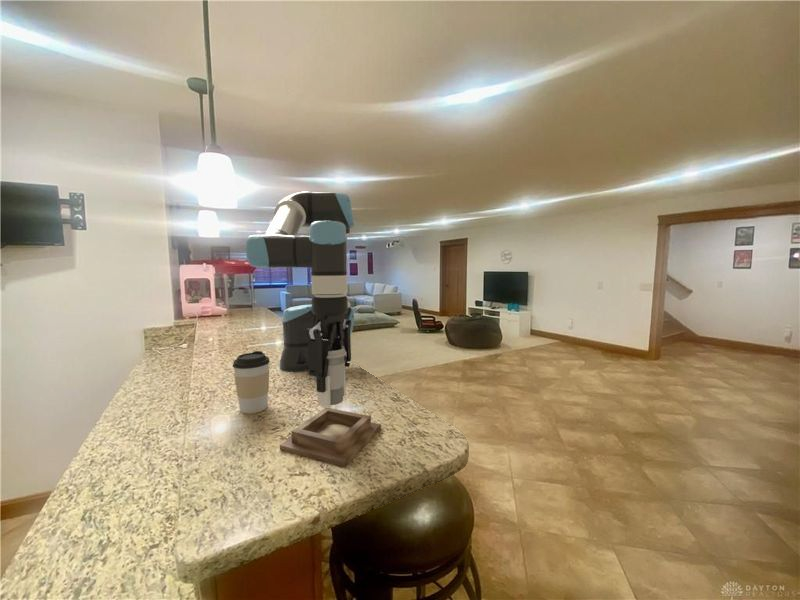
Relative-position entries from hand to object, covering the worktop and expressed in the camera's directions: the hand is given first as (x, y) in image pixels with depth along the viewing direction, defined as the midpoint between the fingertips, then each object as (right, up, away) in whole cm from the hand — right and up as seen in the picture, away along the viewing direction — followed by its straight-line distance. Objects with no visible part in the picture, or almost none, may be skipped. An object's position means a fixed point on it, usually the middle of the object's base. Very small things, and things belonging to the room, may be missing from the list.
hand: (332, 399), depth 71 cm
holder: (0, -9, +1) cm, 9 cm away
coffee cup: (-25, -8, +17) cm, 31 cm away
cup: (0, 0, 0) cm, 0 cm away
